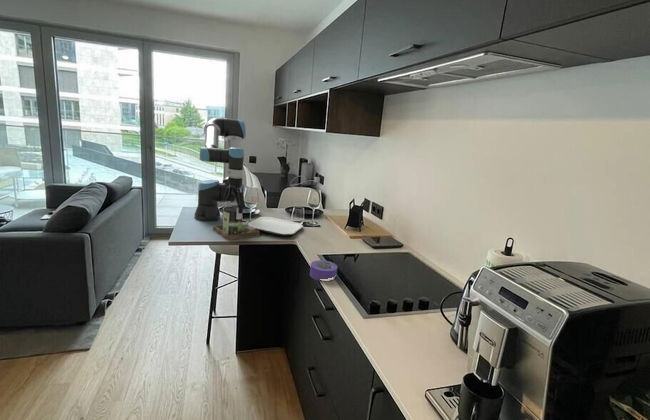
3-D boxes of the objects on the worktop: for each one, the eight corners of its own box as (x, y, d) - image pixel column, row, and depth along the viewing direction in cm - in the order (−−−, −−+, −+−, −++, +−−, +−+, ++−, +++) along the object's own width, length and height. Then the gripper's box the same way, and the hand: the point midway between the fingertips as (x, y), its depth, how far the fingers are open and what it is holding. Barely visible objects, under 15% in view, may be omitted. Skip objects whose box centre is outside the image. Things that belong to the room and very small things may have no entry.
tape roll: (309, 269, 153) (310, 258, 152) (334, 271, 154) (335, 260, 153) (310, 280, 142) (311, 269, 140) (337, 282, 143) (339, 271, 142)
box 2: (244, 233, 189) (245, 227, 188) (250, 232, 192) (250, 226, 191) (249, 235, 186) (249, 229, 185) (254, 234, 189) (255, 227, 188)
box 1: (238, 229, 195) (238, 222, 194) (244, 228, 198) (245, 222, 197) (240, 231, 192) (241, 224, 191) (247, 230, 194) (248, 224, 194)
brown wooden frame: (212, 229, 188) (213, 225, 188) (243, 226, 201) (244, 222, 200) (227, 240, 176) (227, 235, 175) (259, 235, 188) (259, 231, 188)
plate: (242, 228, 192) (242, 224, 192) (263, 218, 220) (263, 215, 220) (290, 239, 187) (290, 235, 186) (305, 227, 214) (305, 224, 214)
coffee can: (244, 232, 191) (246, 208, 187) (236, 237, 181) (237, 212, 177) (227, 229, 192) (229, 205, 189) (218, 234, 182) (219, 209, 179)
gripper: (218, 173, 186) (216, 210, 190) (239, 181, 168) (237, 222, 172) (231, 173, 191) (229, 209, 195) (253, 181, 173) (250, 221, 177)
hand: (233, 215), depth 184 cm, fingers open, 13 cm apart
